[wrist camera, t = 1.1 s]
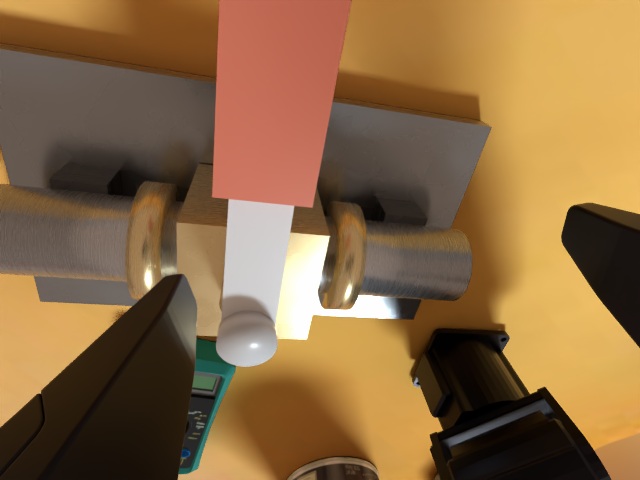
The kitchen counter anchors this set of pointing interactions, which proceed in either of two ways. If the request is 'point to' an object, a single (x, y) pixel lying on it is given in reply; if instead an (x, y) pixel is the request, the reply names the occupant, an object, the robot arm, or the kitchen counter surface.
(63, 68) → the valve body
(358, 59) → the kitchen counter surface
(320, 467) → the coffee can
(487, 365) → the robot arm
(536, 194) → the kitchen counter surface
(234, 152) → the lever
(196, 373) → the digital multimeter
